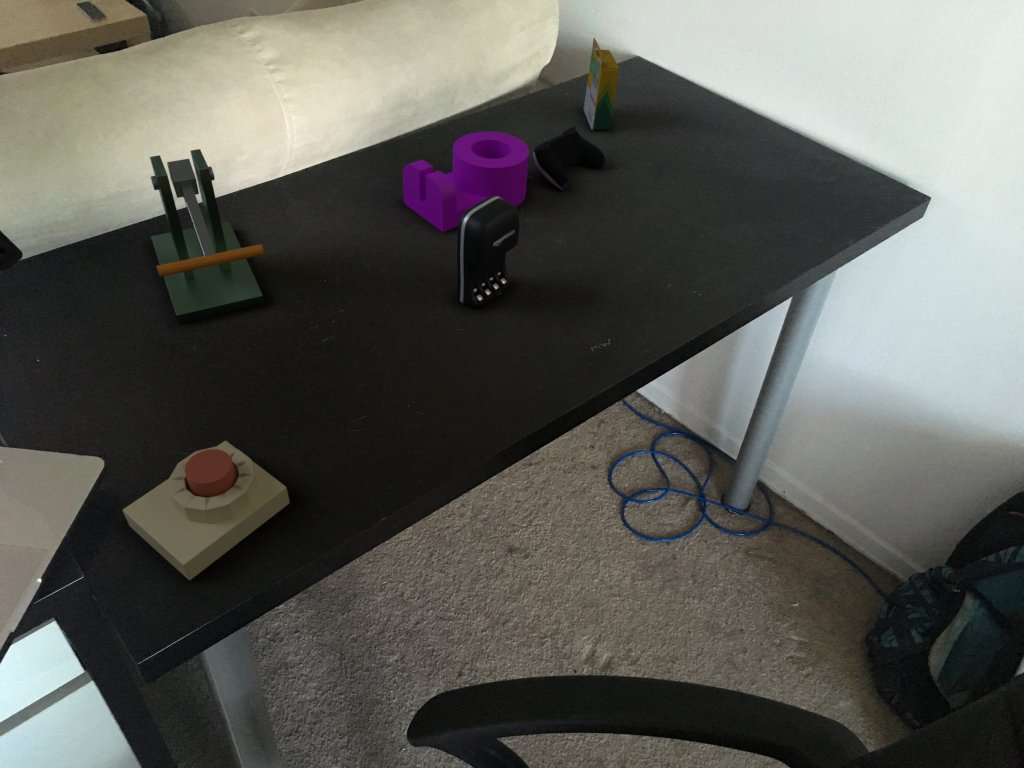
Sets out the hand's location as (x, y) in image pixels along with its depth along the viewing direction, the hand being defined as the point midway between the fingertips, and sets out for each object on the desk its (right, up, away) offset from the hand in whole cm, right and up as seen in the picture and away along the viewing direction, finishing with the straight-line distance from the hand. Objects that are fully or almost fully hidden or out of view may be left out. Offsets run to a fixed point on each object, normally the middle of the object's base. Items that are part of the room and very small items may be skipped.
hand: (1, 256), depth 66 cm
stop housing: (+17, -22, 0) cm, 28 cm away
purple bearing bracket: (+37, +14, +40) cm, 56 cm away
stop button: (+18, -18, -2) cm, 26 cm away
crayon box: (+56, +31, +59) cm, 87 cm away
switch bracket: (+8, +2, +24) cm, 25 cm away
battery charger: (+40, -1, +25) cm, 47 cm away
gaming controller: (+50, +19, +47) cm, 71 cm away
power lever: (+10, +6, +15) cm, 19 cm away
